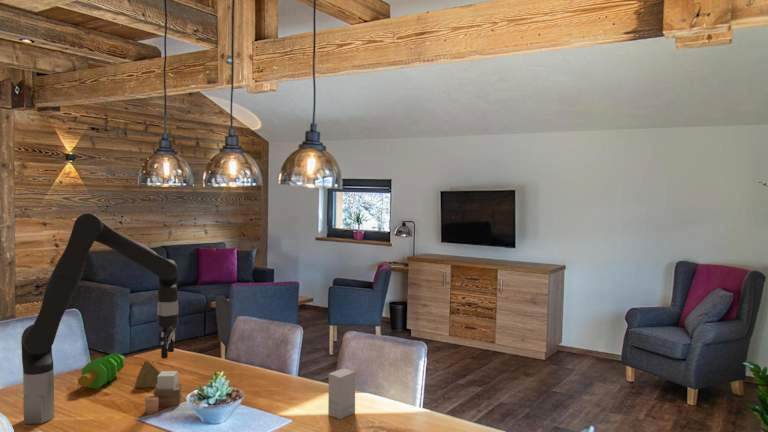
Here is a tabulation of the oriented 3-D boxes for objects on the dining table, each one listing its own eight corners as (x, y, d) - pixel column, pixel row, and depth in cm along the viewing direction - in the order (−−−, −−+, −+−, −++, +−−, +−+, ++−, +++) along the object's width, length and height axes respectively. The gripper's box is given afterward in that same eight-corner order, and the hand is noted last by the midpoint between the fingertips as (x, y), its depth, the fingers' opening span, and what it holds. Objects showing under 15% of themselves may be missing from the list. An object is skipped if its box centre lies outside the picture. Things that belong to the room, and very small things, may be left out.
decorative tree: (76, 362, 236) (117, 340, 266) (67, 388, 238) (108, 363, 267) (102, 374, 235) (140, 350, 265) (92, 400, 237) (131, 373, 267)
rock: (172, 377, 250) (153, 371, 254) (164, 365, 244) (146, 359, 248) (155, 399, 243) (136, 392, 247) (146, 387, 237) (128, 380, 241)
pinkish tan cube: (156, 414, 217) (156, 400, 216) (143, 414, 216) (143, 400, 216) (160, 409, 221) (160, 396, 221) (147, 409, 221) (147, 396, 221)
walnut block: (179, 405, 226) (179, 389, 225) (154, 407, 223) (153, 391, 223) (181, 397, 234) (181, 382, 234) (156, 399, 232) (156, 383, 232)
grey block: (173, 389, 226) (173, 375, 226) (157, 389, 226) (157, 376, 225) (178, 383, 232) (177, 371, 232) (162, 384, 232) (161, 371, 231)
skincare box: (343, 408, 223) (343, 367, 223) (356, 413, 219) (356, 371, 218) (327, 415, 217) (327, 372, 216) (340, 420, 213) (340, 376, 212)
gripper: (163, 308, 234) (163, 350, 235) (151, 316, 220) (151, 360, 220) (182, 308, 234) (182, 350, 235) (172, 316, 220) (172, 360, 221)
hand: (167, 355), depth 228 cm, fingers open, 8 cm apart
